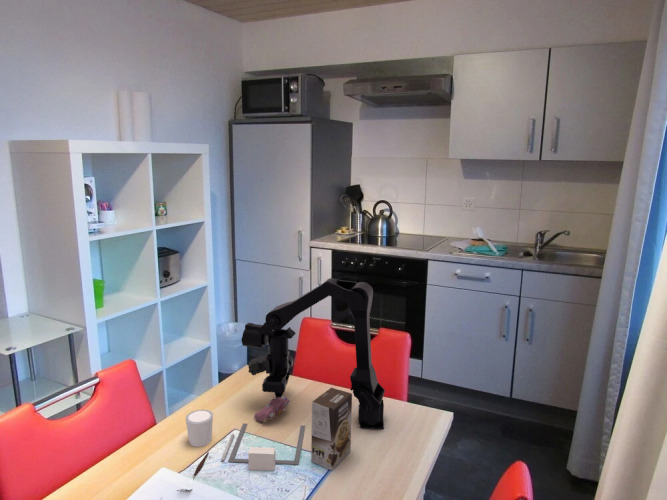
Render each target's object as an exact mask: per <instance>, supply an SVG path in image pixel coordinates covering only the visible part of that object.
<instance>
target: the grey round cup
mask: <svg viewBox="0 0 667 500" xmlns="http://www.w3.org/2000/svg"><path fill="white" fill-rule="evenodd" d="M213 419H214V413H213V412H212V411H211V410H209V409H197V410H193V411H191V412H189V413H188V414H186V416H185V424H186V429H187V437H188V443H189V444H190V446H192V447H195V448H201V447H205V446H207V445H209V444H210V443H211V442H212V436H213V435H212V434H213V423H214V422H213V421H214V420H213Z"/></svg>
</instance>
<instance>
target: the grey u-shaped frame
mask: <svg viewBox="0 0 667 500" xmlns="http://www.w3.org/2000/svg"><path fill="white" fill-rule="evenodd" d="M247 426H248V423H245V422H244V423H242V425H241V427H240V431H239V432H238V436H237V437H236V440H235V443H234V446H233V448H232V450H231V453H230V455H229V458H228V460H227V463H228V462H229V463H230V462H231V464H234V463H235V464H248V470H249V471H268V470H274V471H275V469H274V468H276V465H283V464H290V465H289V466H294V465H295V466H299V465H300V460H301V453H302V449H303V448H302V447H303V440H304V434H305V429H306V425H305V424H304V425H301V424H300V427H299V432H298V439H297V444H296V450H295V454H294V460H289V459H287V460H286V459H283V460H282V459H276V447H262V446H261V447H259V446H258V447H257V446H251V447H249V451H248V455H247V456H248V458H236V455H237V453H238V451H239V448H240V445H241V442H242V440H243V437H244V435H245V432H246V429H247ZM234 438H235V434H234V433H231V435H230V436H229V440H228V442H227V444H226V447H225V449H224V451H223V453H222V457H221V459H220V460H221V461H222V462H224V461H225V460H226V457H227V455H228V452H229V449H230V447H231V445H232V442H233V440H234ZM232 462H233V463H232ZM229 463H228V464H229ZM292 464H293V465H292Z"/></svg>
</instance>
